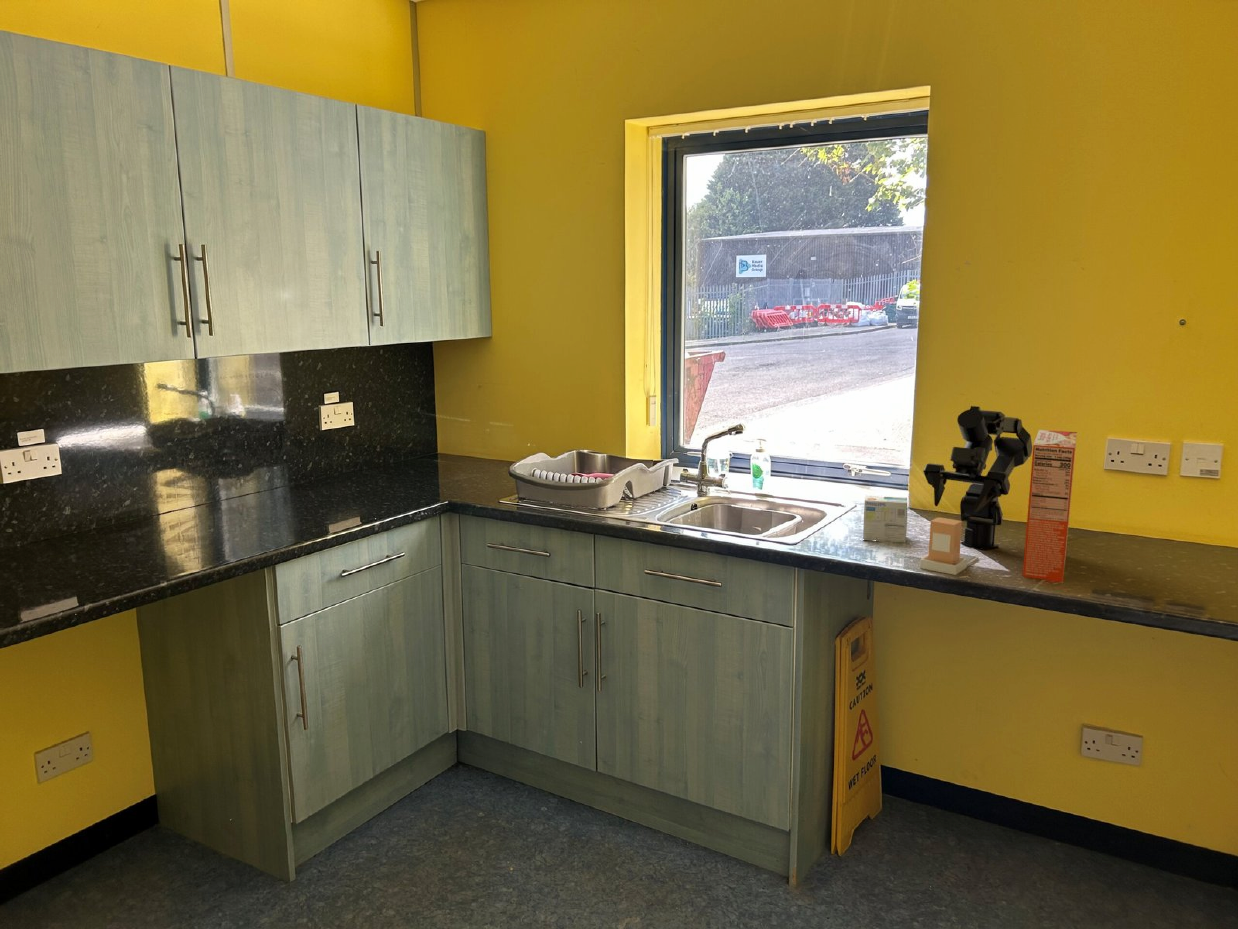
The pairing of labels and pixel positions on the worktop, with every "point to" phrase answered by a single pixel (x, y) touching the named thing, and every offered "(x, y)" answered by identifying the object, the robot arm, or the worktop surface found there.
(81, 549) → the worktop surface
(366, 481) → the worktop surface
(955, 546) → the block
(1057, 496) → the orange cereal box
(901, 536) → the light bulb box
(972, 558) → the case lid
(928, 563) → the case
